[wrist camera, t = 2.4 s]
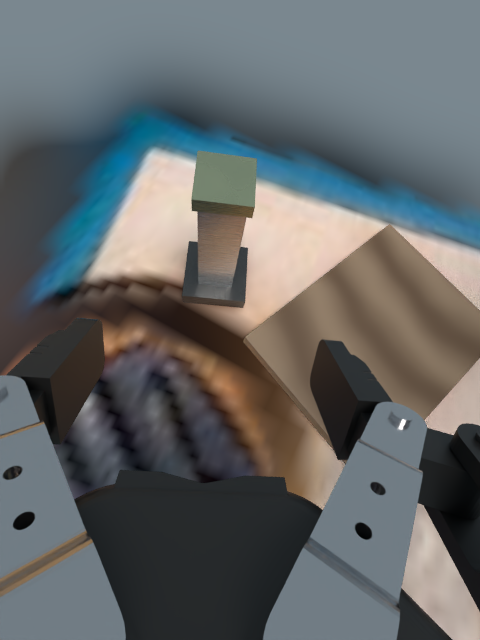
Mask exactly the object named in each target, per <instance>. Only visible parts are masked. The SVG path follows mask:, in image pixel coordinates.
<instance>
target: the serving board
mask: <svg viewBox="0 0 480 640" xmlns="http://www.w3.org/2000/svg"><path fill="white" fill-rule="evenodd" d="M322 339H324V340H335V341H342V342H343V343H344V345H345V346H346V348H347V349H348V351H349V352H350V354H351V355H355V356H357V357H358V358H359V359H361V360H362V361H363V362H365V363H366V365H367V366H368V367H369V369H370V370H371V373H372V374H373V375H374V376H375V377H376V379H377V381H378V382H379V383H380V384H381V386H382V387H383V389H384V390H385V391H386V393H387V394H388V396H389V397H390V398H391V400H392V401H393V402H394V403H398V404H401V405H404V406H406V407H408V408H410V409H412V410H413V411H415V412H416V413H417V414H419V415H420V416H421V417H422V418H423V420H425V419H426V418H427V417H428V415H429V414H430V413H431V412H432V411H433V410H434V409H435V408H436V406H437V405H438V404H439V403H440V402H441V401H442V400H443V399H444V397H445V396H446V395H447V394H448V393H449V392H450V391H451V390H452V388H453V387H454V386H455V385H456V384H457V383H458V382H459V381H460V379H461V378H462V377H463V376H464V375H465V374H466V373H467V372H468V370H469V369H470V368H471V367H472V366H473V365H474V364H475V363H476V361H477V360H478V359H479V358H480V310H479V309H477V308H476V307H475V306H474V305H473V304H472V303H471V302H470V301H469V300H468V299H467V298H466V297H465V296H464V295H463V294H462V293H461V292H460V291H459V290H458V289H457V288H456V287H455V286H454V285H452V284H451V283H450V282H449V281H448V280H447V279H446V278H445V277H444V276H443V275H442V274H441V273H440V272H439V271H438V270H437V269H436V268H435V267H434V266H433V265H432V264H431V263H430V262H429V261H428V260H426V259H425V258H424V257H423V256H422V255H421V254H420V253H419V252H418V251H417V250H416V249H415V248H414V247H413V246H412V245H411V244H410V243H409V242H408V241H407V240H406V239H405V238H404V237H403V236H401V235H400V234H399V233H398V232H397V231H396V230H395V229H394V228H393V227H392V226H391V225H390V224H389V225H388V226H387V227H385V228H384V229H383V230H382V231H380V232H379V233H378V234H377V235H375V236H374V237H373V238H371V239H370V240H369V241H368V242H366V243H365V244H364V245H362V246H361V247H360V248H359V249H357V250H356V251H355V252H353V253H352V254H351V255H350V256H348V257H347V258H346V259H344V260H343V261H342V262H341V263H339V264H338V265H337V266H335V267H334V268H333V269H332V270H330V271H329V272H328V273H327V274H325V275H324V276H323V277H321V278H320V279H319V280H318V281H316V282H315V283H314V284H312V285H311V286H310V287H309V288H307V289H306V290H305V291H303V292H302V293H301V294H300V295H298V296H297V297H296V298H294V299H293V300H292V301H291V302H289V303H288V304H287V305H286V306H284V307H283V308H282V309H280V310H279V311H278V312H277V313H275V314H274V315H273V316H271V317H270V318H269V319H268V320H266V321H265V322H264V323H262V324H261V325H260V326H259V327H257V328H256V329H255V330H253V331H252V332H251V333H250V334H248V335H247V336H246V337H245V338H244V341H243V342H244V343H245V345H246V346H247V347H248V348H249V349H250V351H251V352H252V353H253V354H254V355H255V357H256V358H257V359H258V360H259V361H260V363H261V364H262V365H263V366H264V367H265V368H266V370H267V371H268V372H269V373H270V374H271V376H272V377H273V378H274V379H275V380H276V382H277V383H278V384H279V385H280V386H281V388H282V389H283V390H284V391H285V392H286V394H287V395H288V396H289V397H290V398H291V399H292V401H293V402H294V403H295V404H296V405H297V407H298V408H299V409H300V410H301V411H302V413H303V414H304V415H305V416H306V417H307V419H308V420H309V421H310V422H311V423H312V424H313V426H314V427H315V428H316V429H317V430H318V432H319V433H320V434H321V435H322V436H323V438H324V439H325V440H326V441H327V442H328V444H329V445H330V446H331V447H332V448H333V446H332V443H331V441H330V438H329V435H328V433H327V430H326V428H325V425H324V422H323V420H322V417H321V415H320V412H319V409H318V407H317V404H316V402H315V399H314V397H313V394H312V391H311V388H310V375H311V371H312V367H313V363H314V359H315V355H316V351H317V347H318V344H319V342H320V340H322ZM333 450H334V448H333ZM343 461H344V463H345V464H346V463H347V461H348V460H343Z"/></svg>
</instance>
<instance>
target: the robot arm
mask: <svg viewBox="0 0 480 640" xmlns="http://www.w3.org/2000/svg"><path fill="white" fill-rule="evenodd" d="M104 361H105V356H104V342H103V328H102V322H101V321H100V320H96V319H85V318H76V319H75V320H74V321H73V322H72V323H71V324H70V325H69V326H68V327H67V329H66V330H65V331H64V330H59V331H57V332H55V333H53V334H51V335H49V336H47V337H45V338H44V339H43V340H42V341H41V342H40V343H39V344H38V345H37V347H35V348H34V349H33V350H32V351H31V352H30V354H28V355H26V356H25V357H24V358H23V359H22V360H21V361H20V362H19V363H18V364H17V365H16V366H15V367H14V368H13V369H12V370H11V371H10V372H9V373H8V374H7V375H6V376H0V640H452V639H451V638H450V637H449V636H448V635H447V634H446V633H445V632H444V631H443V630H442V629H441V628H440V627H439V626H438V625H437V624H436V623H435V622H434V621H433V620H432V619H431V618H430V617H429V616H428V615H427V614H426V613H425V612H424V611H423V610H422V609H421V608H420V607H419V606H418V605H417V604H416V603H415V601H414V600H413V599H412V598H411V597H410V596H409V595H408V594H407V593H406V592H405V591H404V590H403V589H402V588H401V586H402V581H403V576H404V571H405V565H406V560H407V555H408V550H409V545H410V539H411V534H412V529H413V524H414V519H415V514H416V508H417V503H419V504H422V505H424V507H425V509H426V511H427V512H428V514H429V516H430V518H431V520H432V522H433V524H434V526H435V528H436V529H437V531H438V533H439V535H440V537H441V539H442V541H443V543H444V545H445V547H446V548H447V550H448V552H449V554H450V556H451V558H452V560H453V562H454V564H455V565H456V567H457V569H458V571H459V573H460V575H461V577H462V579H463V581H464V583H465V584H466V586H467V588H468V590H469V592H470V594H471V596H472V598H473V600H474V601H475V603H476V605H477V607H478V609H479V611H480V426H479V425H475V424H462V425H460V426H459V427H458V429H457V430H456V432H455V434H454V436H453V435H450V434H446V433H443V432H439V431H436V430H432V429H429V428H427V425H426V423H425V421H424V420H423V418H422V417H421V416H420V415H419V414H417V413H416V412H415V411H413V410H412V409H410V408H408V407H406V406H404V405H401V404H398V403H394V402H393V401H392V400H391V398H390V397H389V396H388V394H387V393H386V391H385V390H384V389H383V387H382V386H381V384H380V383H379V382H378V381H377V379H376V377H375V376H374V375H373V374H372V373H371V370H370V369H369V367H368V366H367V365H366V363H365V362H363V361H362V360H361V359H359V358H358V357H357V356H355V355H351V354H350V352H349V351H348V349H347V348H346V346H345V345H344V343H343V342H342V341H335V340H324V339H322V340H320V342H319V344H318V347H317V351H316V355H315V359H314V363H313V367H312V371H311V375H310V388H311V391H312V394H313V397H314V399H315V402H316V404H317V407H318V409H319V412H320V415H321V417H322V420H323V422H324V425H325V428H326V430H327V433H328V435H329V438H330V441H331V443H332V446H333V448H334V451H335V453H336V456H337V459H338V460H348V461H347V463H346V465H345V467H344V469H343V471H342V473H341V475H340V477H339V479H338V481H337V483H336V485H335V487H334V489H333V491H332V493H331V495H330V497H329V499H328V501H327V503H326V505H325V507H324V509H323V510H322V509H321V508H319V507H318V506H316V505H315V504H313V503H312V502H310V501H308V500H307V499H305V498H303V497H301V496H298V495H296V494H294V493H291V492H288V491H287V489H286V483H285V478H284V477H263V476H241V477H236V478H231V479H226V480H221V481H215V482H210V483H199V482H195V481H192V480H188V479H185V478H181V477H178V476H174V475H171V474H167V473H164V472H152V471H129V470H120V471H119V474H118V477H117V480H116V483H115V484H113V485H109V486H105V487H102V488H98V489H96V490H93V491H91V492H88V493H86V494H84V495H82V496H80V497H78V498H76V499H73V496H72V493H71V491H70V488H69V486H68V483H67V480H66V478H65V475H64V473H63V470H62V467H61V465H60V462H59V460H58V457H57V454H56V452H55V449H54V447H53V444H61V442H62V441H63V439H64V437H65V436H66V434H67V432H68V430H69V429H70V427H71V425H72V424H73V422H74V420H75V419H76V417H77V415H78V413H79V412H80V410H81V408H82V407H83V405H84V403H85V402H86V400H87V398H88V396H89V395H90V393H91V391H92V390H93V388H94V386H95V384H96V383H97V381H98V379H99V378H100V376H101V374H102V371H103V368H104Z"/></svg>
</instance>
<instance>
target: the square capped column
mask: <svg viewBox="0 0 480 640" xmlns="http://www.w3.org/2000/svg"><path fill="white" fill-rule="evenodd" d="M256 168H257V159H255V158H248V157H241V156H233V155H226V154H219V153H211V152H204V151H198V153H197V161H196V169H195V176H194V184H193V192H192V211H197V212H198V242H191V241H189V246H188V254H187V262H186V270H185V278H184V286H183V294H182V298H183V302H187V303H198V304H208V305H219V306H230V307H240V308H243V306H244V303H245V292H246V273H247V254H248V248H245V247H240V245H241V241H242V236H243V231H244V227H245V222H246V217H248V218H252V216H253V212H254V208H255V189H256Z"/></svg>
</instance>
